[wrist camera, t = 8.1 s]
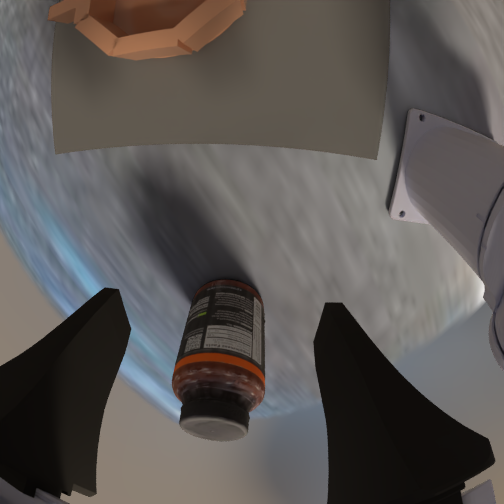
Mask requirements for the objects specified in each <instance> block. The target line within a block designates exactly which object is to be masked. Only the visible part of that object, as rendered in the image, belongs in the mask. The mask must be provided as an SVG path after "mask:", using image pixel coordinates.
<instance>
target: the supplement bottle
mask: <svg viewBox="0 0 504 504" xmlns="http://www.w3.org/2000/svg"><path fill="white" fill-rule="evenodd" d="M264 314H265V313H264V306H263V302H262V299H261V297H260V296H259V295H258V293H257V292H256V291H255V290H254V289H253V288H251V287H250V286H248V285H247V284H244V283H242V282H239V281H235V280H227V279H222V280H216V281H212V282H209V283H207V284H205V285H204V286H202V287H201V288H200V289H199V290H198V291H197V292H196V294H195V296H194V299H193V301H192V304H191V308H190V311H189V315H188V318H187V322H186V326H185V329H184V333H183V337H182V340H181V345H180V348H179V352H178V356H177V360H176V363H175V369H174V373H173V378H172V388H173V391H174V393H175V395H176V397H177V398H178V399H179V400H180V401H181V402H182V404H183V405H182V407H181V415H180V421H179V424H180V427H181V428H182V429H183V430H184V431H185V432H187V433H189V434H191V435H193V436H195V437H199V438H203V439H207V440H213V441H233V440H238V439H241V438H243V437H245V436H246V435H247V433H248V425H249V424H248V423H249V419H250V417H249V412H251V411H252V410H254V409H255V408H256V407H257V406H258V405H259V404H260V403H261V402H262V400H263V398H264V394H265V333H264V331H265V330H264V328H265V326H264V323H265V321H264Z"/></svg>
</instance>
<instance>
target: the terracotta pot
mask: <svg viewBox="0 0 504 504" xmlns="http://www.w3.org/2000/svg"><path fill="white" fill-rule="evenodd" d="M246 2H247V0H63V1H61V2H59V3H57V4H55V5H53V6H51V7H50V9H49V15H48V20H50V21H56V22H62V23H67V24H68V23H71V22H73V21H74V24H77V25H76V26H75V28H76V29H77V30H79V31H80V32H81V33H82V34H83V35H85V36H86V37H87V38H88V39H89V40H91V41H92V42H93V43H94V44H95V45H97V46H98V47H99V48H100V49H101V50H102V51H104V52H105V53H106V54H107V55H108V56H113V57H119V58H125V59H131V60H136V61H137V60H143V59H150V58H167V57H173V56H178V55H187V54H192V51H194V50H195V51H196V52H198V51H199V50H200V49H201V48H202V47H203V46H205V45H206V44H208V43H209V42H211V41H213V40H214V39H216V38H217V37H218V36H220V35H221V34H222V33H223V32H224V31H225V30H227V29H228V28H229V27H230V26H231V24H232V23H233V22H234V21H235V20H237V19H238V18H239V17H241V16H242V15H243V10H246Z"/></svg>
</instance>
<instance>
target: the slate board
mask: <svg viewBox="0 0 504 504" xmlns="http://www.w3.org/2000/svg"><path fill="white" fill-rule="evenodd" d="M61 1H63V0H59V2H61ZM76 25H77V24H74V21H73V22H71V23H68V24H67V23H62V22H56V25H55V33H54V42H53V54H52V76H51V100H52V123H53V136H54V146H55V154H61V153H68V152H75V151H83V150H91V149H100V148H110V147H122V146H136V145H155V144H238V145H258V146H272V147H284V148H295V149H305V150H314V151H322V152H329V153H337V154H343V155H350V156H356V157H362V158H368V159H374V160H377V155H378V149H379V143H380V137H381V130H382V123H383V115H384V107H385V98H386V89H387V77H388V64H389V44H390V0H247V2H246V10H243V15H242V16H241V17H239V18H238V19H237V20H235V21H234V22H233V23H232V24H231V26H230V27H229V28H228V29H227V30H225V31H224V32H223V33H222V34H221V35H220V36H218V37H217V38H216V39H214V40H213V41H211V42H209V43H208V44H206V45H205V46H203V47H202V48H201V49H200V50H199V51H198V52H196V51H195V50H194V51H192V54H187V55H178V56H173V57H167V58H150V59H143V60H137V61H136V60H131V59H125V58H119V57H113V56H108V55H107V54H106V53H105V52H104V51H102V50H101V49H100V48H99V47H98V46H97V45H95V44H94V43H93V42H92V41H91V40H89V39H88V38H87V37H86V36H85V35H83V34H82V33H81V32H80V31H79V30H77V29H76V28H75V26H76Z"/></svg>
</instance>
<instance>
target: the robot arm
mask: <svg viewBox="0 0 504 504" xmlns="http://www.w3.org/2000/svg"><path fill="white" fill-rule="evenodd" d="M420 115H422V117H423V118H422V120H421V121H420V119H419V116H420ZM401 211H403V213H402V214H401V215H399V213H400V212H401ZM389 216H390V217H391V218H392V219H395V220H402V221H410V222H417V223H424V224H431V225H432V226H433V227H434V228H435V229H436V230H437V231H438V232H439V233H440V234H441V235H442V236H443V237H444V238H445V240H446V241H447V242H448V243H449V244H450V245H451V246H452V247H453V248H454V249H455V250H456V251H457V252H458V253H459V255H460V256H461V257H462V258H463V259H464V260H465V261H466V262H467V264H468V265H469V266H470V267H471V268H472V269H473V271H474V272H475V273H476V274H477V275H478V277H479V278H480V279H481V280H482V281H483V283H484V285H485V292H484V296H483V298H484V300H485V301H486V302H487V303H488V305H489V307H490V308H491V309H492V311H493V314H492V316H491V319H490V324H489V342H490V346H491V350H492V352H493V355H494V357H495V359H496V361H497V363H498V365H499V366H500V368H501V369H502V370H503V371H504V146H502V145H500V144H498V143H497V142H496V141H494V140H492V139H490V138H488V137H486V136H484V135H482V134H480V133H477V132H475V131H473V130H471V129H469V128H466V127H464V126H462V125H459V124H457V123H454V122H452V121H449V120H447V119H444V118H442V117H439V116H436V115H434V114H431V113H428V112H425V111H422V110H419V109H415V108H411V109H410V110H409V111H408V114H407V122H406V129H405V135H404V141H403V147H402V152H401V158H400V163H399V168H398V173H397V178H396V182H395V187H394V191H393V195H392V199H391V203H390V207H389ZM130 332H131V327H130V324H129V321H128V318H127V314H126V311H125V308H124V305H123V302H122V298H121V295H120V291H119V289H113V288H104V289H102V290H101V291H99V292H98V293H97V294H96V295H94V296H93V297H92V298H91V299H90V300H88V301H87V302H86V303H85V304H84V305H82V306H81V307H80V308H79V309H78V310H76V311H75V312H74V313H73V314H72V315H71V316H69V317H68V318H67V319H66V320H65V321H64V322H62V323H61V324H60V325H59V326H57V327H56V328H55V329H54V330H52V331H51V332H50V333H49V334H47V335H46V336H45V337H44V338H43V339H41V340H40V341H38V342H37V343H36V344H34V345H33V346H32V347H30V348H29V349H27V350H26V351H24V352H23V353H22V354H20V355H19V356H17V357H15V358H13V359H12V360H10V361H8V362H7V363H5V364H3V365H2V366H0V504H69V503H67V502H65V501H63V500H61V499H60V496H61V492H62V493H64V494H66V495H68V496H71V492H72V490H73V491H76V492H78V493H81V494H83V495H86V496H88V497H91V496H94V495H95V494H97V493H96V464H97V451H98V450H97V449H98V442H99V435H100V428H101V424H102V418H103V414H104V409H105V406H106V403H107V399H108V397H109V394H110V391H111V388H112V386H113V383H114V380H115V378H116V375H117V373H118V370H119V367H120V365H121V362H122V360H123V357H124V354H125V351H126V347H127V344H128V340H129V336H130ZM314 356H315V367H316V372H317V377H318V382H319V387H320V392H321V397H322V403H323V408H324V413H325V418H326V425H327V435H328V459H329V460H328V461H329V478H328V502H327V504H496V501H495V495H494V491H493V486H492V482H491V480H490V479H489V480H487V481H485V482H483V483H481V484H479V485H477V486H475V487H474V488H472V489H470V490H468V491H465V492H463V493H461V490H463V489H464V488H465V483H464V482H465V481H467V480H469V479H470V478H472V477H474V476H476V475H477V474H479V473H481V472H482V471H484V470H486V469H487V468H489V467H490V466H492V465H493V464H494V463H495V458H494V454H493V451H492V448H491V445H490V442H489V439H488V438H486V437H484V436H482V435H480V434H478V433H476V432H474V431H473V430H471V429H469V428H467V427H465V426H464V425H462V424H461V423H459V422H457V421H456V420H455V419H453V418H452V417H450V416H449V415H447V414H446V413H445V412H443V411H442V410H441V409H439V408H438V407H437V406H436V405H434V404H433V403H432V402H430V401H429V400H428V399H427V398H426V397H425V396H424V395H422V394H421V393H420V392H419V391H418V390H417V389H416V388H415V387H414V386H412V384H411V383H410V382H408V381H407V380H406V379H405V378H404V377H403V376H402V375H401V374H400V373H399V372H398V370H397V369H396V368H395V367H394V366H393V365H392V364H391V363H390V362H389V360H388V359H387V358H386V357H385V356H384V355H383V354H382V352H381V351H380V350H379V349H378V348H377V346H376V345H375V344H374V343H373V341H372V340H371V339H370V338H369V337H368V335H367V334H366V333H365V331H364V330H363V329H362V328H361V326H360V325H359V324H358V322H357V321H356V320H355V319H354V317H353V316H352V315H351V313H350V312H349V311H348V310H347V308H346V307H345V306H344V304H343V303H326V302H325V306H324V309H323V312H322V316H321V319H320V322H319V326H318V329H317V332H316V335H315V338H314Z"/></svg>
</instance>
